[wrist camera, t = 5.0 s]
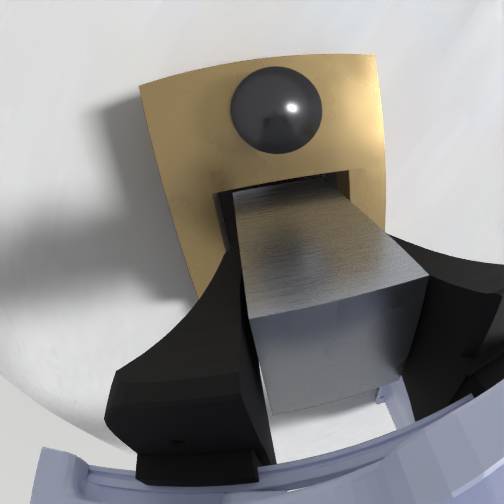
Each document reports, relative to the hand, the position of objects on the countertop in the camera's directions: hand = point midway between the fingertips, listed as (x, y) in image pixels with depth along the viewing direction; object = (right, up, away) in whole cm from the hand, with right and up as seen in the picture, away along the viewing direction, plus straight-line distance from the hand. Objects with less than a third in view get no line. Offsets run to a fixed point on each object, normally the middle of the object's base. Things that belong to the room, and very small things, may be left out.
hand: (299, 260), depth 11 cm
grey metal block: (0, +2, +3) cm, 3 cm away
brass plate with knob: (0, +2, +4) cm, 4 cm away
